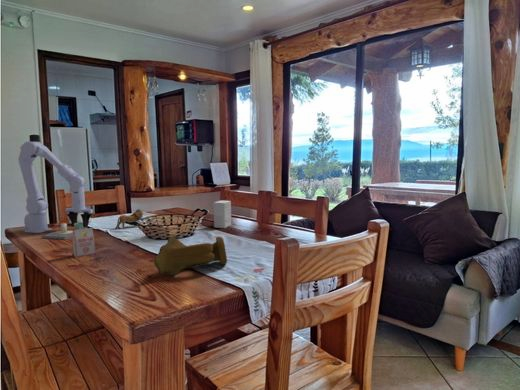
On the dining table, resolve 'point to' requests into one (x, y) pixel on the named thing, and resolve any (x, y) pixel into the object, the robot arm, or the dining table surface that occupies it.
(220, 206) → the small box
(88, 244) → the grey printed carton
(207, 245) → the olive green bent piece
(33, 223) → the robot arm
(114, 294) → the dining table surface
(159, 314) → the dining table surface
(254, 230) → the dining table surface
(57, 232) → the post stand
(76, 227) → the ring
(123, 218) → the lion figurine
